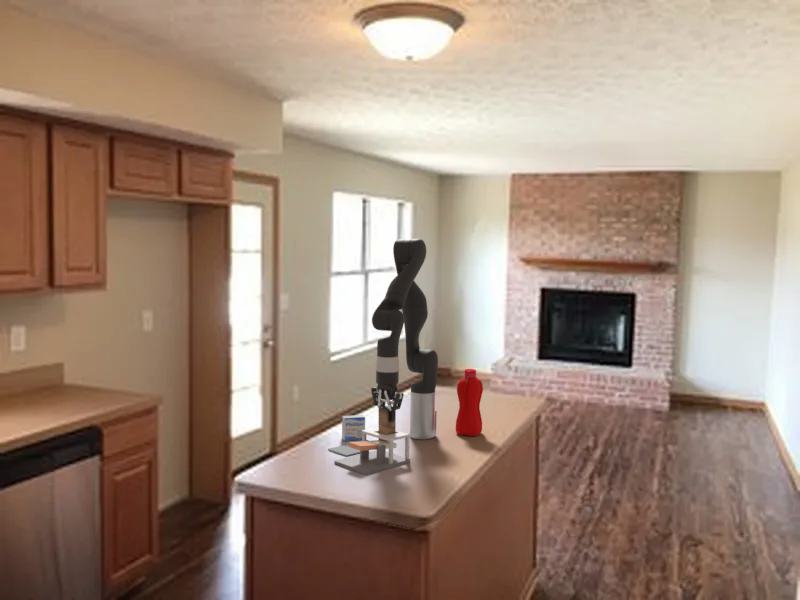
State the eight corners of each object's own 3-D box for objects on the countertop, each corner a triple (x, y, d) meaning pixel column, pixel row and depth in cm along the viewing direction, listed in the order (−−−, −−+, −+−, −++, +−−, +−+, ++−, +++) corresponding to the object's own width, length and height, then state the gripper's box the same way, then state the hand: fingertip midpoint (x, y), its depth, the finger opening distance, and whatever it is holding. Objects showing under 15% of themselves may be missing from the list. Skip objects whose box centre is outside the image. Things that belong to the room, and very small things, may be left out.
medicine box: (343, 441, 260) (344, 418, 260) (341, 438, 264) (341, 415, 264) (365, 440, 262) (365, 417, 262) (362, 437, 267) (362, 414, 266)
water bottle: (451, 435, 271) (452, 370, 269) (462, 429, 281) (463, 366, 279) (473, 439, 267) (475, 372, 265) (484, 432, 276) (486, 368, 274)
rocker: (383, 444, 242) (384, 439, 242) (396, 447, 238) (396, 443, 238) (348, 446, 231) (348, 442, 231) (360, 450, 227) (361, 446, 227)
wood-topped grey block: (387, 437, 242) (387, 405, 241) (395, 439, 239) (395, 407, 238) (378, 439, 239) (378, 407, 238) (386, 442, 236) (386, 409, 235)
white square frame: (379, 452, 247) (379, 425, 247) (410, 462, 237) (410, 434, 236) (334, 463, 233) (334, 435, 233) (365, 474, 223) (365, 445, 222)
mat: (349, 445, 256) (349, 443, 256) (368, 451, 249) (368, 449, 248) (327, 450, 249) (327, 448, 249) (346, 456, 242) (346, 455, 242)
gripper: (410, 371, 235) (409, 422, 236) (381, 365, 245) (380, 414, 246) (394, 373, 229) (393, 426, 231) (364, 367, 239) (364, 418, 241)
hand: (386, 420), depth 238 cm, fingers closed on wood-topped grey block, 4 cm apart
